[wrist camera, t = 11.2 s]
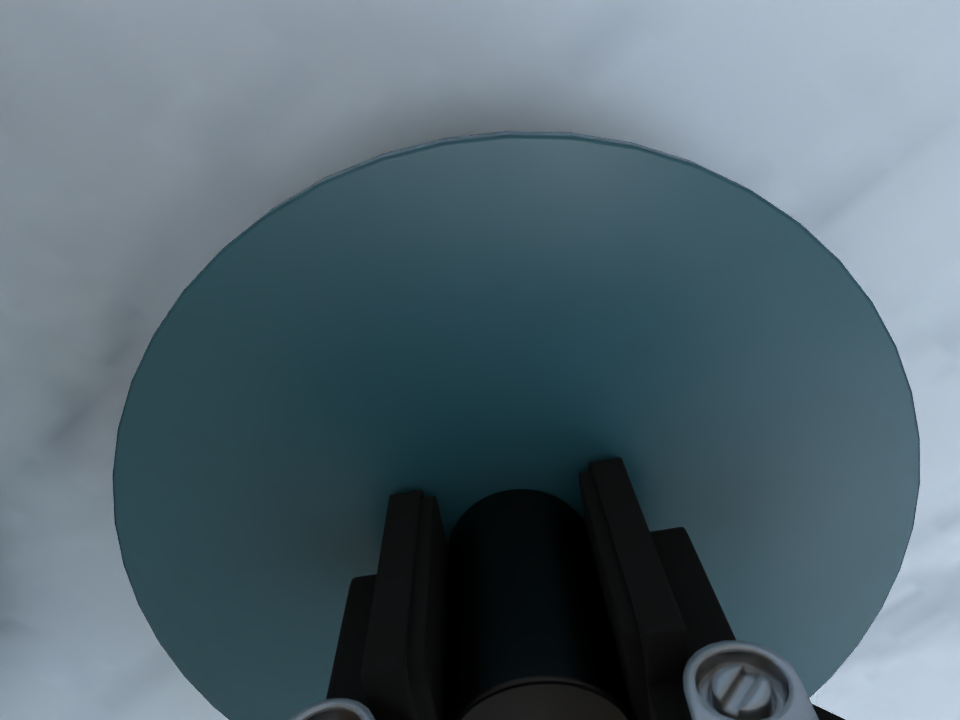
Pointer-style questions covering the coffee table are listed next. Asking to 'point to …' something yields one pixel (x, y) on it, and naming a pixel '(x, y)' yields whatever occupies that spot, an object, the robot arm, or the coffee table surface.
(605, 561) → the robot arm
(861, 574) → the lid
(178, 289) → the coffee table surface
